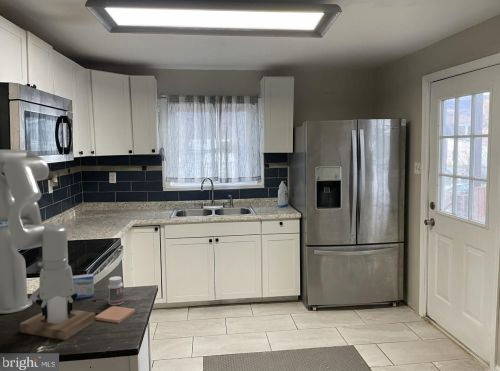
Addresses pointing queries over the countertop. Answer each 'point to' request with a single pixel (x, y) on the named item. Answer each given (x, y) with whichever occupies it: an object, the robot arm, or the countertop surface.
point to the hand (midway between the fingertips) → (57, 314)
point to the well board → (62, 331)
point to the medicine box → (84, 285)
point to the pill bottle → (115, 291)
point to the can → (57, 310)
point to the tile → (115, 314)
